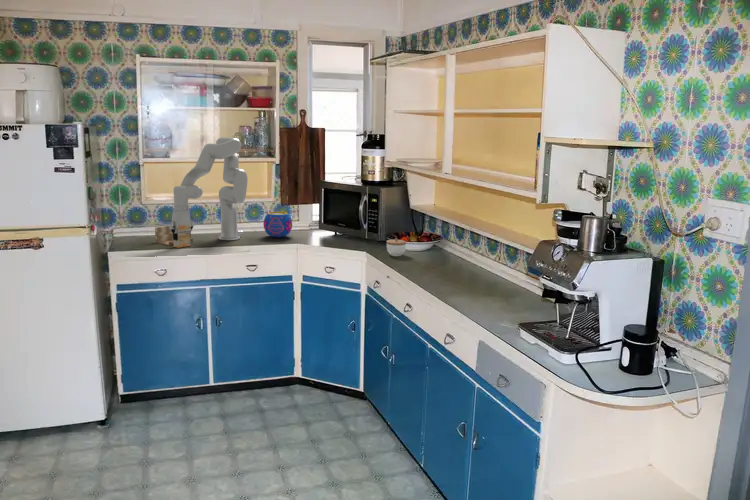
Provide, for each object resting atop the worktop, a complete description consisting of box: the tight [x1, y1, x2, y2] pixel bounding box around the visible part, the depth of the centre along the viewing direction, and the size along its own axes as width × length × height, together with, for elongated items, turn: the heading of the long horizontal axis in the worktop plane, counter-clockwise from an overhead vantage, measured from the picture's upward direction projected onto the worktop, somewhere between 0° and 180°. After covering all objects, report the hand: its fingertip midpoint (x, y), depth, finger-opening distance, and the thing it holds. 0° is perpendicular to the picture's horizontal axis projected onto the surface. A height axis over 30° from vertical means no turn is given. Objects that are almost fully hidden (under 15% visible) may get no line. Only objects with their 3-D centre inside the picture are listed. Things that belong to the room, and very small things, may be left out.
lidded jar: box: [386, 237, 407, 257], centre depth 356 cm, size 11×11×9 cm
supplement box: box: [173, 224, 191, 249], centre depth 362 cm, size 8×5×13 cm, turn 143°
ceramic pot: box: [262, 211, 293, 239], centre depth 397 cm, size 18×18×15 cm
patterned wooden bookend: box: [154, 224, 194, 247], centre depth 373 cm, size 16×13×9 cm
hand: (182, 239), depth 363 cm, fingers closed on supplement box, 8 cm apart
